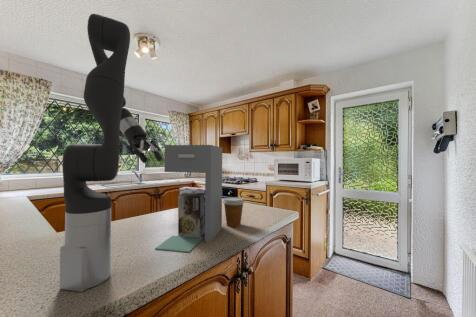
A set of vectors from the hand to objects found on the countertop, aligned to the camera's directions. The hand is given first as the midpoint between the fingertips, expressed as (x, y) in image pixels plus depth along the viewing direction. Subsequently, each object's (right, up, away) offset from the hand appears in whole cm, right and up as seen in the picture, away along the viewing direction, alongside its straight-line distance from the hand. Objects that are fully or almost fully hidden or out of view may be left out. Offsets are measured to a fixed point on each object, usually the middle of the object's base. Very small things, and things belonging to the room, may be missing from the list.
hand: (153, 160), depth 85 cm
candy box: (+13, -30, +14) cm, 35 cm away
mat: (+14, -29, -11) cm, 34 cm away
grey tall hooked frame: (+17, -29, 0) cm, 34 cm away
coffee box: (+15, -29, -1) cm, 33 cm away
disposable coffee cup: (+32, -30, +11) cm, 45 cm away
